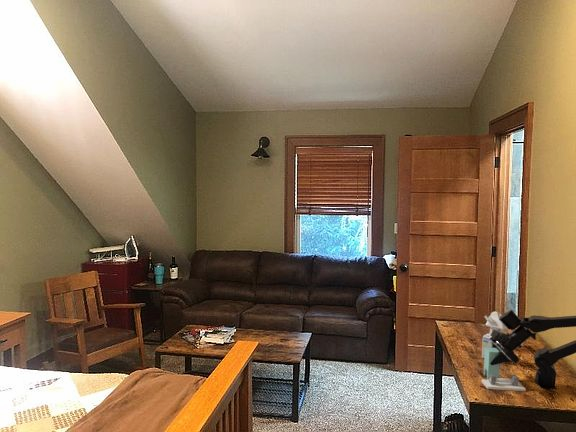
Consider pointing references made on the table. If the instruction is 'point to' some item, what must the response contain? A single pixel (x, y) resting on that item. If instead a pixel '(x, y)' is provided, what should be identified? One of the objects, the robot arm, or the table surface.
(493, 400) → the table surface
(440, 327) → the table surface
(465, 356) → the table surface
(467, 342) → the table surface
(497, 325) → the white mech figurine
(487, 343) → the light bulb box
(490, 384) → the shaft bracket
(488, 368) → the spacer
